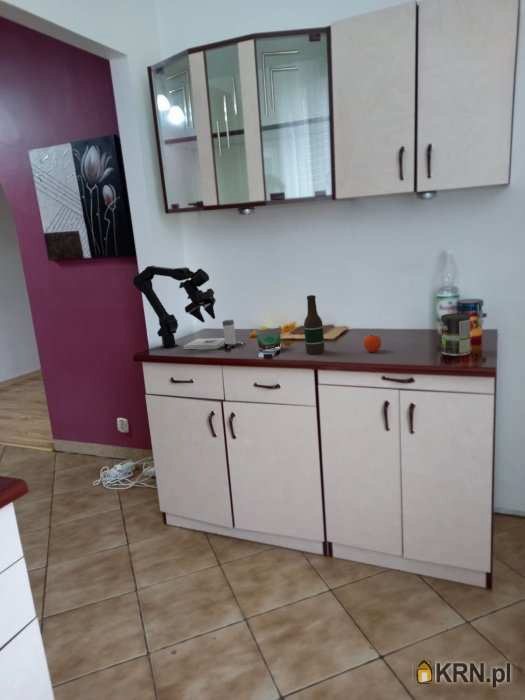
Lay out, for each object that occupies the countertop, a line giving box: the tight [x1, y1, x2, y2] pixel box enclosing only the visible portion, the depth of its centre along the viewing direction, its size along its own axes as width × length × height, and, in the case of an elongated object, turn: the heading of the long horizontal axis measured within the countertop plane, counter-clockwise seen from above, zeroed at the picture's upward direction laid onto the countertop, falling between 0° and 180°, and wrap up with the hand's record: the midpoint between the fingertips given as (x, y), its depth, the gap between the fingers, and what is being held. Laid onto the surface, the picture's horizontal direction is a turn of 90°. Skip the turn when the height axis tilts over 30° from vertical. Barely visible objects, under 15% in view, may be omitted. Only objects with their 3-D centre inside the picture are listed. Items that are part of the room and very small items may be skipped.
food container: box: [254, 326, 283, 352], centre depth 229 cm, size 12×6×10 cm, turn 105°
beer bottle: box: [303, 294, 325, 356], centre depth 216 cm, size 8×8×24 cm
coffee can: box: [440, 313, 471, 357], centre depth 196 cm, size 10×10×14 cm
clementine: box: [363, 334, 382, 353], centre depth 211 cm, size 8×7×7 cm
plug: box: [222, 319, 237, 345], centre depth 249 cm, size 4×4×12 cm
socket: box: [183, 337, 225, 350], centre depth 254 cm, size 17×15×2 cm
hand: (209, 320), depth 247 cm, fingers open, 9 cm apart
